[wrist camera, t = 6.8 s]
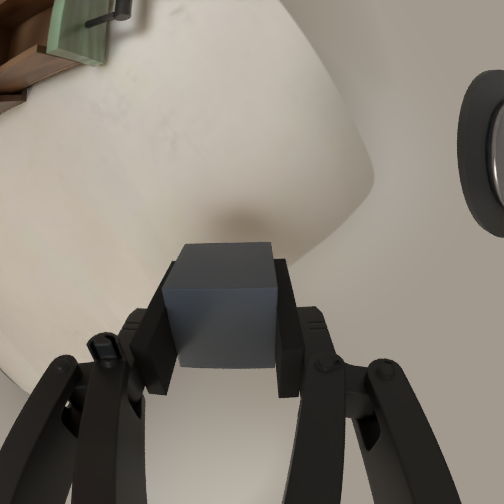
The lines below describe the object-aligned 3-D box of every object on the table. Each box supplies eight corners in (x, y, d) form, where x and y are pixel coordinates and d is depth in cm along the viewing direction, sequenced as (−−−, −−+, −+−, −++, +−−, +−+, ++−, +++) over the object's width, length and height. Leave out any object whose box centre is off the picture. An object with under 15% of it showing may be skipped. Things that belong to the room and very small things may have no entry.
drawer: (152, -35, 14) (126, -72, 7) (144, 53, 19) (106, 29, 12) (16, 24, 14) (-25, 15, 7) (7, 103, 19) (-40, 108, 12)
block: (270, 241, 14) (278, 287, 10) (270, 312, 16) (275, 368, 12) (184, 243, 14) (161, 288, 10) (194, 312, 16) (180, 367, 12)
